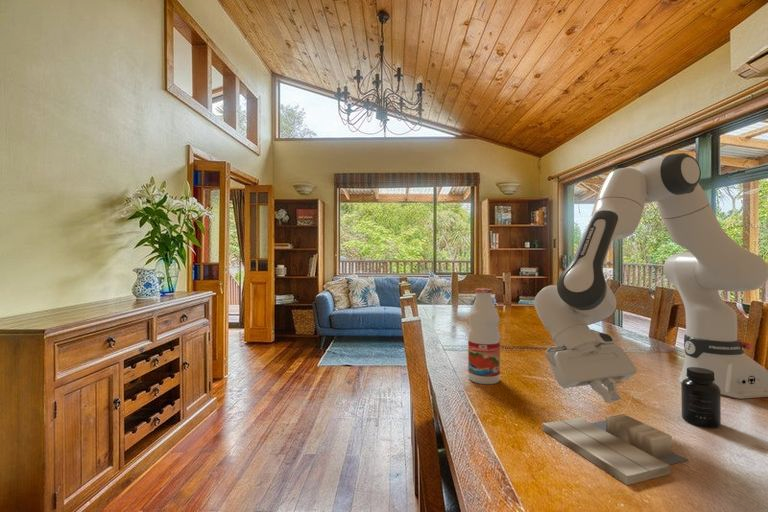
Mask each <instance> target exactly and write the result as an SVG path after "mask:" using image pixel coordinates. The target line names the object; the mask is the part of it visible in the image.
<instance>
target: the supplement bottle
mask: <svg viewBox="0 0 768 512" xmlns="http://www.w3.org/2000/svg"><path fill="white" fill-rule="evenodd" d="M686 376H687V377H688V378H687V379H684V380H683V381H682V383H681V382H680V383H681V385H680V386H681V395H680V396H681V397H680V398H681V400H680V401H681V418H682V420H684V421H685V422H686V423H689V424H690V425H693V426H697V427H700V428H705V429H717V428H719V427H721V425H722V423H721V421H722V420H721V419H722V417H721V416H722V411H721V410H722V408H721V407H722V405H721V404H722V403H721V395H722V394H721V391H720V388H719V386H718V385H717V384H715V383H714V382H713V381H715V378H714V372H713V371H711V370H708V369H704V368H698V367H689V368H687V374H686Z"/></svg>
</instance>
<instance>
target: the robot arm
mask: <svg viewBox="0 0 768 512" xmlns="http://www.w3.org/2000/svg"><path fill="white" fill-rule="evenodd" d="M701 176H702V172H701V167H700V164H699V162H698V161H697V159H696V158H695V157H693V156H692V155H689V154H688V153H684V152H680V153H679V152H678V153H672V154H668V155H666V156H665V157H663V156H662V157H658V158H655V159H650V160H648V161H644V162H642V163H640V164H638V165H636V166H635V165H634V166H632V167H622V168H621V167H620V168H616V169H614V170H613V171H610V173H609V174H607V176H606V177H605V179H604V181H603V183H602V185H601V187H600V189H599V191H598V193H597V196H596V199H595V201H594V205H593V208H592V211H591V216H590V217H589V219H588V222H587V224H586V226H585V228H584V231H583V233H582V236H581V238H580V240H579V243H578V246H577V249H576V251H575V253H574V256H573V257H572V259H571V261H570V263H569V264H568V265H567V267H566V268H565V269H564V270H563V271H562V273H560V275H559V276H558V280H557V283H556V285H553V284H550V285H547V286H544V287H543V288H542V289H541V290H539V292H537V294H536V295H535V297H534V301H533V302H534V309H535V311H536V314H537V315H538V318H539V320H540V321H541V323H542V324H543V326H544V328H545V329H546V330H547V331H548V333H550V335H551V338H552V341H553V343H554V345H555V347H548V348H547V349H546V351H545V358H546V359H547V361H548V363H549V366H550V368H551V372H552V374H553V376H554V378H555V380H556V382H557V383H558V385H559V386H560V387H561V388H563V389H568V388H569V389H570V388H576V387H577V388H578V387H583V386H590V388H592V390H593V391H594V392H596V393H597V394H598V395H600V397H602V399H603V400H604V402H605V403H613V402H618V401H620V400H621V399H622V398H621V395H620V394H619V392H618V389H617V381H618V382H619V381H624V380H628V379H630V378H631V377H632V378H633V376H634V375H636V373H637V368H636V366H635V365H634V363H633V362H632V360H631V358H630V357H629V356H628V354H627V353H626V351H625V350H624V349H623V348H621V346H619V345H618V344H616V342H617V341H616V338H615V337H614V336H613V335H612V334H609V333H605V332H600V331H597V330H595V329H591V328H590V327H589V326H590V325H592V324H593V325H594V324H596V323H599V322H602V321H605V320H608V319H609V318H611V316H612V315H614V313H615V312H616V310H617V307H618V300H617V297H616V295H615V293H614V292H613V290H612V289H611V287H610V285H609V284H608V283H607V281H606V278H605V275H604V265H605V262H606V259H607V256H608V253H609V250H610V248H611V245H612V243H613V241H614V240H623V239H626V238H628V237H630V236H631V235H633V234H634V233H636V231H637V228H638V227H639V224H640V222H641V219H642V215H643V212H644V207H645V205H646V204H650V203H654V202H656V206H657V208H658V211H659V214H660V217H661V220H662V221H663V223H664V225H665V228H666V230H667V233H668V236H669V237H670V239H671V241H672V242H673V243H674V244H676V245H678V246H679V247H682V248H684V249H685V250H686V251H684V252H679V253H675V254H672V255H670V256H668V257H667V259H666V260H664V261H665V262H664V263H663V266H662V267H663V269H662V270H663V274H664V275H663V276H664V277H665V278H666V279H667V281H669V283H671V284H672V285H673V287H675V289H676V290H677V292H678V294H679V297H680V298H681V300H682V302H683V306H684V307H683V308H684V312H685V334H684V337H683V348H684V352H685V354H684V359H683V360H684V361H683V365H682V370H681V373H680V376H679V378H678V381H679V383H682V381H683V380H684V379H687V378H688V377H687V376H686V374H687V368H689V367H698V368H704V369H708V370H711V371H713V372H714V378H715V381H713V382H714V383H715V384H717V385H718V386H719V388H720V391H721V395H722V396H726V397H731V398H734V399H741V400H742V399H753V398H754V399H755V398H764V397H765V398H768V369H766V367H764V365H763V366H762V365H761V364H759V363H758V362H757V361H756V360H754V359H753V358H751V357H750V356H748V355H747V354H746V353H745V351H744V349H746V350H748V351H752V350H753V349H754V348H755V347H754V346H755V345H754V344H753V343H752V342H748V341H746V340H745V341H740V340H739V339H738V315H737V312H736V310H735V309H734V308H733V307H731V306H730V305H729V304H727V303H726V302H725V301H724V300H723V299H722V297H721V295H720V293H719V291H722V292H723V291H725V292H735V293H737V292H748V291H756V290H759V289H760V288H762V287H763V286H765V284H766V283H767V281H768V263H767V262H766V260H765V259H764V258H763V257H761V256H760V255H758V254H756V253H753V252H751V251H749V250H747V249H745V248H744V247H743V246H741V245H740V244H739V243H737V242H736V241H735V240H733V238H731V237H730V235H729V234H727V233H726V232H725V230H724V228H722V226H721V225H720V222H719V221H718V220H719V219H718V218H717V217H716V214H715V212H714V210H713V207H712V206H711V205H712V204H711V203H710V201H709V199H708V197H707V195H706V193H705V191H704V189H703V188H702V186H701V185H700V183H699V182H700V180H701Z"/></svg>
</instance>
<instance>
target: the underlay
mask: <svg viewBox="0 0 768 512" xmlns="http://www.w3.org/2000/svg"><path fill="white" fill-rule="evenodd" d="M590 423H591V424H593V425H594V426H596V427H598V428H600V429H602V430H604V431H606V419H605V420H602V421H601V420H600V421H595V422H590ZM657 459H659V460H661V461H662V462H664V463H666V464H668V465H670V466H671V465H675V464H676V465H677V464H679V463H683V462H686V461H687V462H688V461H689V459H688V458H686V457H684V456H682V455H679V454H677V453H676V452H674V451H672V454H669V455H665V456H661V457H657Z"/></svg>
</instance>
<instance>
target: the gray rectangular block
mask: <svg viewBox="0 0 768 512" xmlns="http://www.w3.org/2000/svg"><path fill="white" fill-rule="evenodd" d="M605 420H606V432H608V433H610V434H611V435H613V436H615V437H617V438H619V439H621V440H623V441H625V442H627V443H628V444H630V445H632V446H634V447H636V448H638V449H640V450H642V451H644V452H645V453H647V454H649V455H651V456H653V457H655V458H657V457H661V456H665V455H669V454H672V452H673V450H672V448H673V447H672V445H673V444H672V443H673V441H672V439H673V438H672V437H673V436H672V435H671V434H668V433H666V432H664V431H662V430H660V429H657V428H655V427H654V426H652V425H649V424H647V423H644V422H642V421H640V420H637V419H635V418H634V417H631V416H629V415H626V414H624V413H623V414H622V413H621V414H616V415H612V416H607V417H605Z"/></svg>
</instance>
